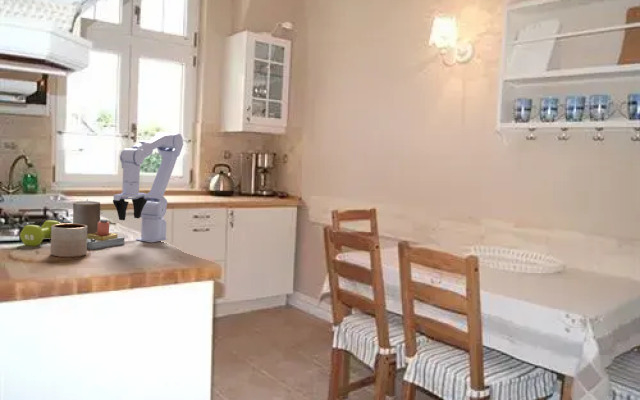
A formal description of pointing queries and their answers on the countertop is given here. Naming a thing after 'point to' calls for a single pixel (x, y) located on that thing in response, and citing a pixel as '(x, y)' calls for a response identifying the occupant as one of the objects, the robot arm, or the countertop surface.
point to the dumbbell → (36, 233)
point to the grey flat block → (103, 240)
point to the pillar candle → (87, 214)
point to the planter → (68, 240)
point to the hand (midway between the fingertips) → (129, 219)
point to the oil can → (103, 228)
